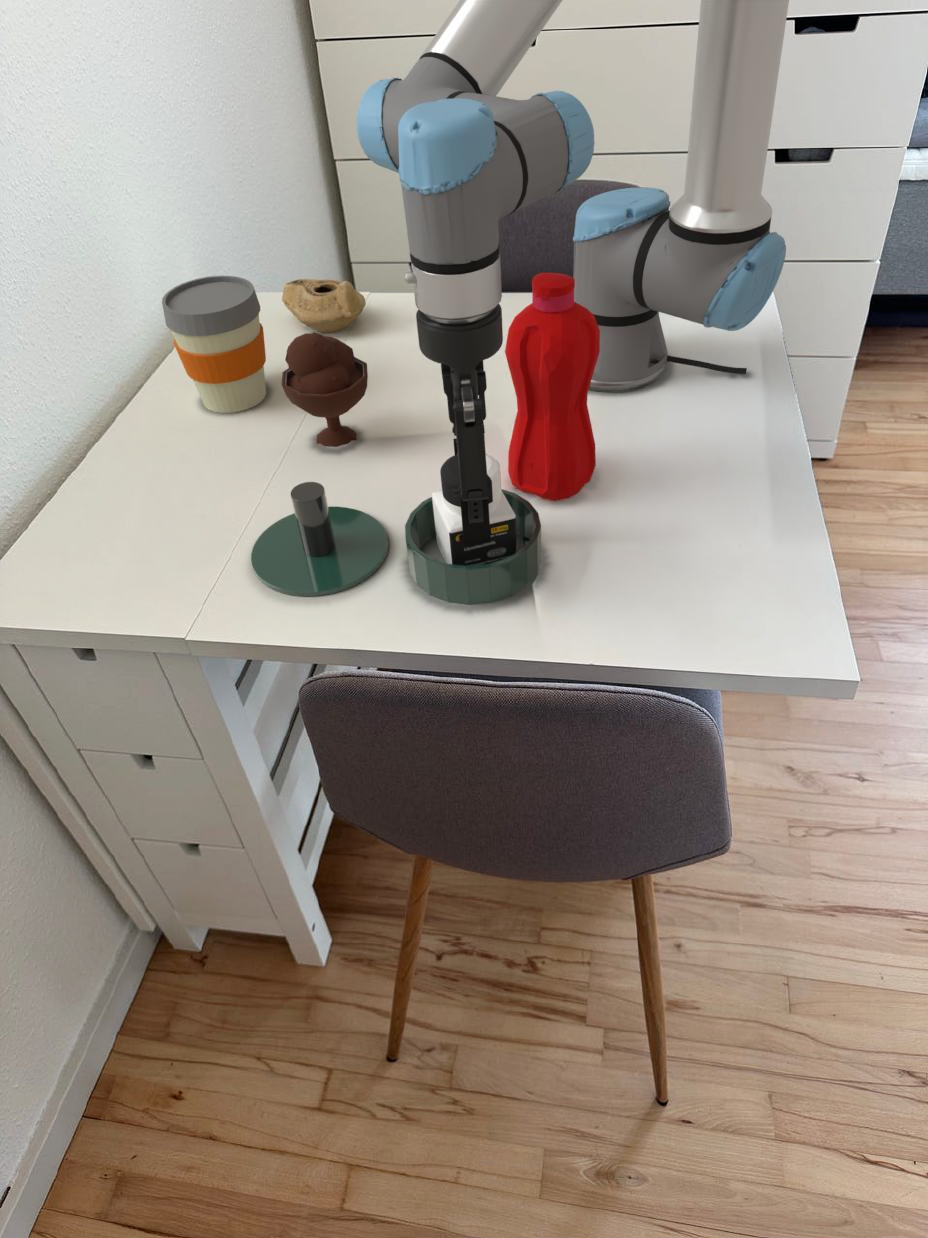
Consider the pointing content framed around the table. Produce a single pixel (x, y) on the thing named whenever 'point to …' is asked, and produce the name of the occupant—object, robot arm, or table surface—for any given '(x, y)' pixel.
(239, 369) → the reusable coffee cup
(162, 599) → the table surface
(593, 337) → the water bottle
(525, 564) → the pot
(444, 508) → the medicine bottle
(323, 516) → the pot lid
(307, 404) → the ice cream bowl
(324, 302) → the oil lamp
